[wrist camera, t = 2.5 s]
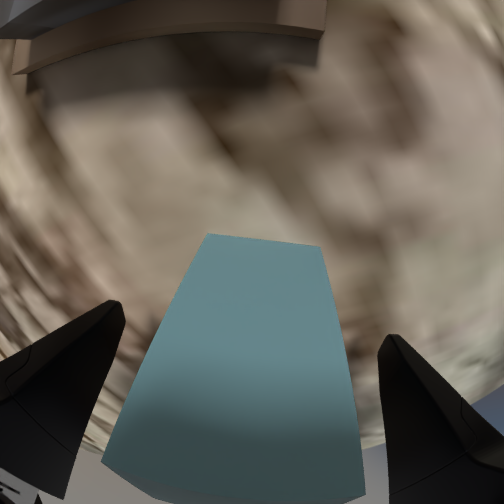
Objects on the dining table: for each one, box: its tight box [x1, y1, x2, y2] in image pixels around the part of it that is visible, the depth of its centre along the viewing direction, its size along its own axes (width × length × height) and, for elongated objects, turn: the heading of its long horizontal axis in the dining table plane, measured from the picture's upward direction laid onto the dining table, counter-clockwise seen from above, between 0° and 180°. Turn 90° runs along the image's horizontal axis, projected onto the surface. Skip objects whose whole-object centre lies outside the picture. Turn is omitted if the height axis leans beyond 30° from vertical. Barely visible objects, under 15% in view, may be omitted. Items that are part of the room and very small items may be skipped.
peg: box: [101, 233, 366, 504], centre depth 7 cm, size 4×4×8 cm
